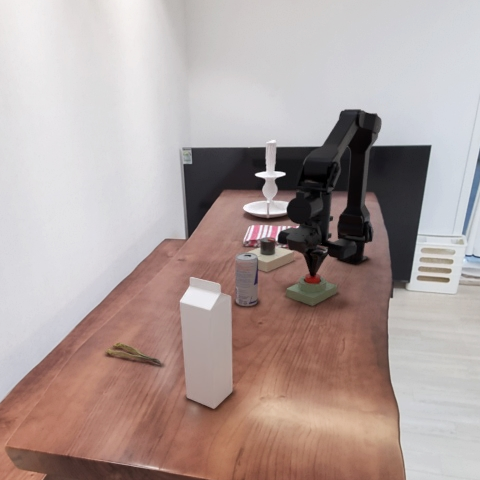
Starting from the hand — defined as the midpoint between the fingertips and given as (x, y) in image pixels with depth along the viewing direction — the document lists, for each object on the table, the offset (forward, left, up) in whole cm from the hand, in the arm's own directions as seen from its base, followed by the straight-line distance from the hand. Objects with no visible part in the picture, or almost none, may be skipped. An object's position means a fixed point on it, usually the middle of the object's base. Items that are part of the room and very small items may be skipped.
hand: (312, 275), depth 114 cm
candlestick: (-48, -55, -5) cm, 73 cm away
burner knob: (-10, -23, -2) cm, 25 cm away
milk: (+46, +12, -5) cm, 48 cm away
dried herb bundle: (+48, -8, -5) cm, 49 cm away
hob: (-10, -23, -5) cm, 26 cm away
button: (0, 0, -2) cm, 2 cm away
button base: (0, 0, -5) cm, 5 cm away
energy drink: (+14, -9, -5) cm, 17 cm away
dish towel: (-29, -34, -5) cm, 45 cm away
